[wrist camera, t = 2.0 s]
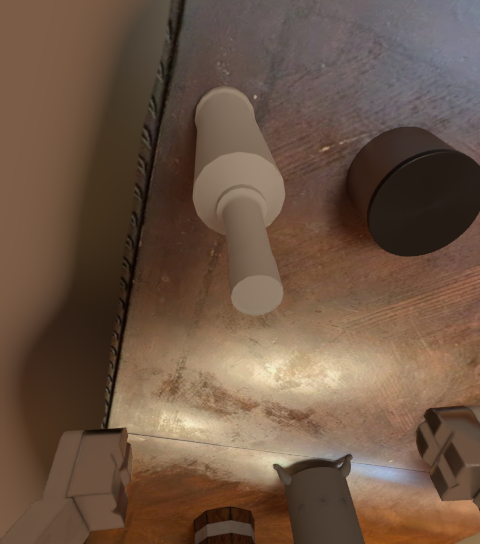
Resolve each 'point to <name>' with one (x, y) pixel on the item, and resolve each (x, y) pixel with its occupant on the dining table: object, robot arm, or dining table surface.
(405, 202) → the canister
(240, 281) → the bottle
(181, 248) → the dining table surface
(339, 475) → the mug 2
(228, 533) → the mug
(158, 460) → the dining table surface
